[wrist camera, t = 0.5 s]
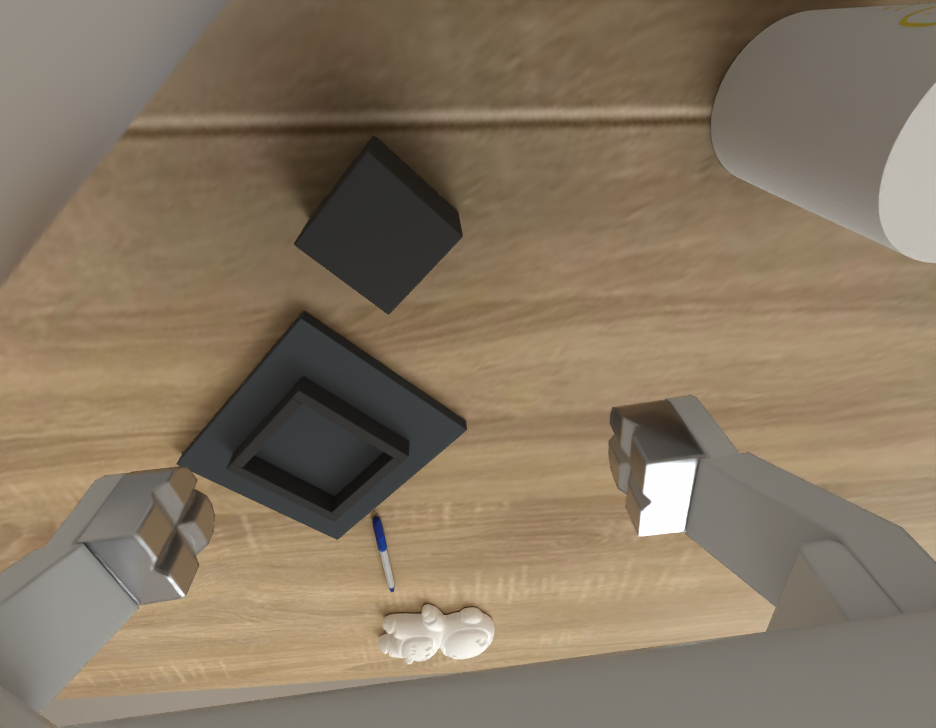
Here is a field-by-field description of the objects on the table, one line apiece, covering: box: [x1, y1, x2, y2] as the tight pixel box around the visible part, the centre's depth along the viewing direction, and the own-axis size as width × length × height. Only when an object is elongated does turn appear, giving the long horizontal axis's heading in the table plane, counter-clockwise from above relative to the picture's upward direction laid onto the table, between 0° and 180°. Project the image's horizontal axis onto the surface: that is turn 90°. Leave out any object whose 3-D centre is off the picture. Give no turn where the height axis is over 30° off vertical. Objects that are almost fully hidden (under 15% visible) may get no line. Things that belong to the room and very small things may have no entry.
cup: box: [711, 3, 936, 263], centre depth 21 cm, size 8×8×12 cm
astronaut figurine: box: [378, 604, 494, 664], centre depth 51 cm, size 9×12×3 cm
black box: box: [294, 136, 463, 314], centre depth 26 cm, size 6×6×4 cm
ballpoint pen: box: [373, 517, 395, 592], centre depth 44 cm, size 10×1×1 cm, turn 4°
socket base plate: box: [177, 311, 467, 540], centre depth 36 cm, size 14×16×3 cm
